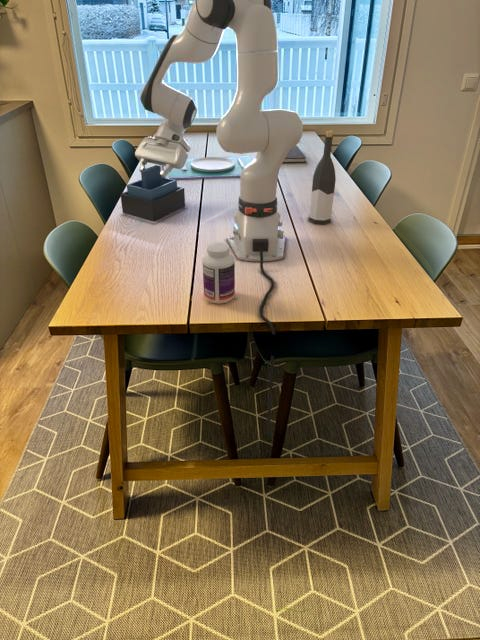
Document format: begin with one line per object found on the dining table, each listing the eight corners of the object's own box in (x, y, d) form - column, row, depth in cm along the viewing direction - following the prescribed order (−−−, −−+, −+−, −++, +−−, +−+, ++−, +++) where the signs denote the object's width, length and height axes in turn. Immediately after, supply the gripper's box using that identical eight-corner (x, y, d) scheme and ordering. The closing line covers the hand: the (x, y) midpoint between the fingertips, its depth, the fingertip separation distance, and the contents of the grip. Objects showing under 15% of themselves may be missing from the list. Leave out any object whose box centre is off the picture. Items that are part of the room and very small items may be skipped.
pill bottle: (235, 290, 126) (236, 240, 118) (233, 306, 119) (233, 254, 111) (205, 288, 126) (204, 239, 118) (201, 304, 120) (199, 253, 112)
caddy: (155, 201, 179) (152, 161, 170) (178, 207, 174) (175, 166, 165) (130, 212, 169) (124, 170, 160) (153, 218, 164) (149, 176, 156)
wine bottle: (334, 218, 168) (346, 130, 151) (325, 226, 162) (337, 135, 146) (313, 214, 172) (322, 127, 155) (304, 221, 166) (312, 132, 149)
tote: (155, 200, 181) (153, 180, 177) (185, 208, 175) (184, 187, 170) (123, 215, 169) (120, 193, 164) (154, 223, 162) (151, 202, 158)
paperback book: (296, 150, 245) (297, 145, 244) (306, 162, 226) (306, 157, 225) (266, 150, 244) (266, 145, 243) (273, 163, 225) (273, 158, 224)
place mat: (164, 180, 202) (164, 174, 201) (162, 160, 227) (162, 155, 226) (267, 176, 208) (267, 171, 207) (254, 157, 233) (254, 152, 232)
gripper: (140, 130, 167) (124, 164, 166) (186, 138, 159) (169, 174, 157) (150, 140, 173) (134, 174, 172) (194, 149, 164) (178, 184, 163)
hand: (151, 174), depth 164 cm, fingers open, 8 cm apart
